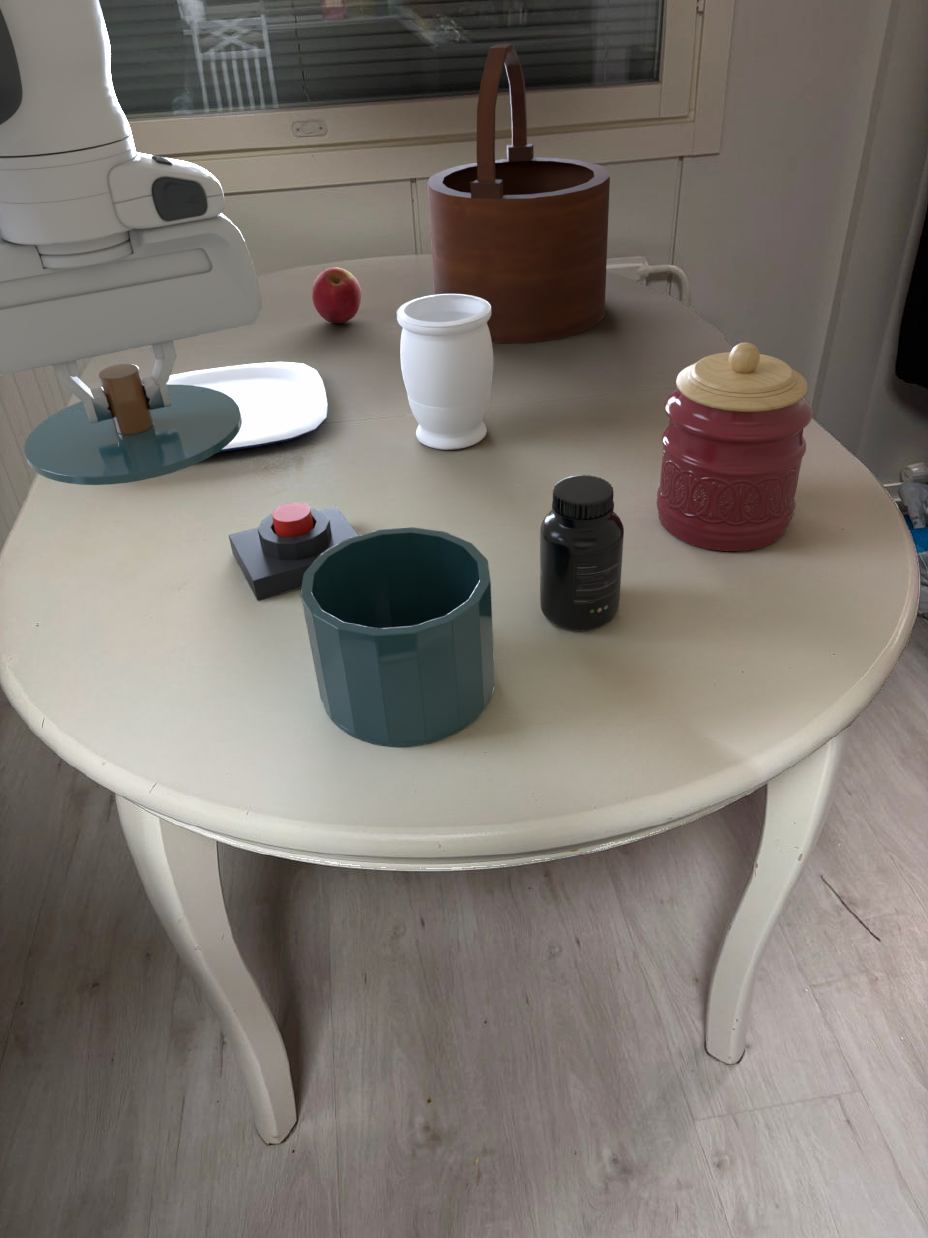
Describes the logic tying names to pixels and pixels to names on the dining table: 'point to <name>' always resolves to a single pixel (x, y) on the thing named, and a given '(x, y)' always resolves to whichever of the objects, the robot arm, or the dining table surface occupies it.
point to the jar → (447, 367)
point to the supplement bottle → (581, 555)
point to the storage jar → (401, 634)
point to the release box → (286, 551)
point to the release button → (292, 519)
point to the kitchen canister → (733, 450)
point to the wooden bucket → (521, 226)
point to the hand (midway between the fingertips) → (130, 411)
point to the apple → (336, 295)
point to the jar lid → (132, 433)
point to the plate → (266, 399)
